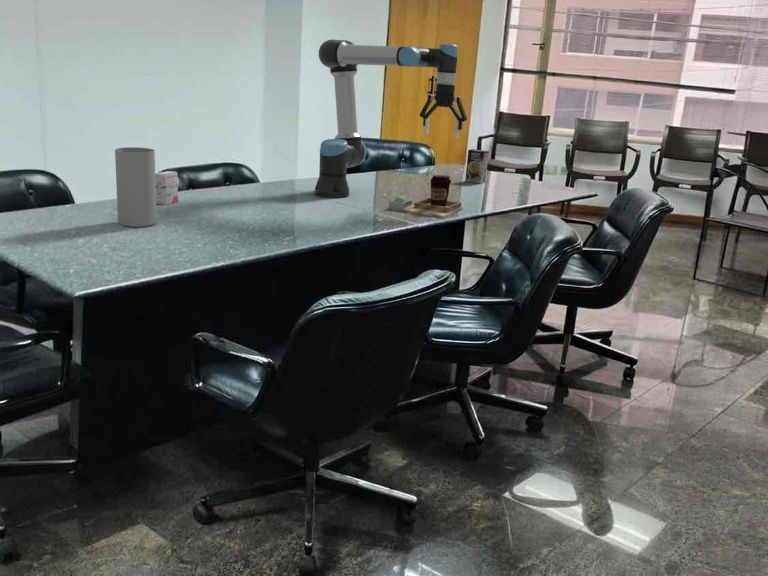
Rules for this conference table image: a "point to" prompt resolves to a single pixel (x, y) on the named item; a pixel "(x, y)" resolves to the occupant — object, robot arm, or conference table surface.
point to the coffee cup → (439, 190)
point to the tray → (434, 208)
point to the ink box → (166, 187)
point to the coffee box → (477, 166)
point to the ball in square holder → (399, 204)
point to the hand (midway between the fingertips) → (441, 136)
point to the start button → (400, 199)
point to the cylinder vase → (136, 186)
